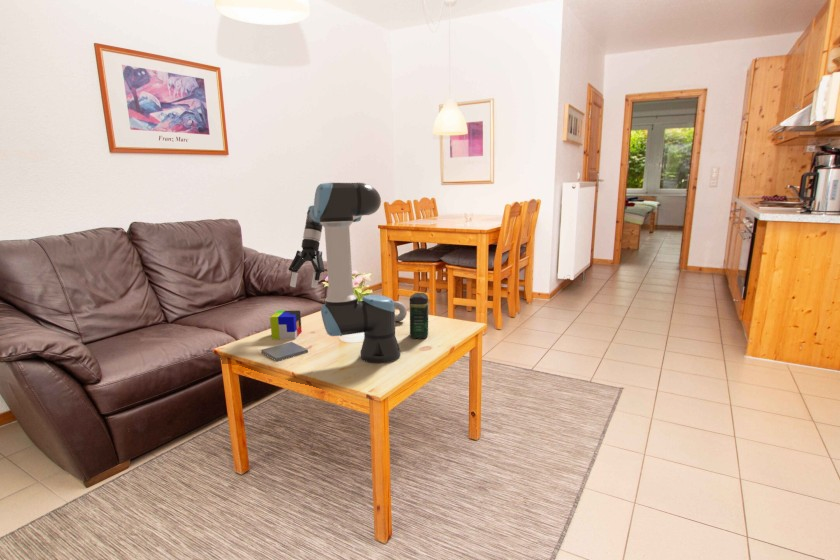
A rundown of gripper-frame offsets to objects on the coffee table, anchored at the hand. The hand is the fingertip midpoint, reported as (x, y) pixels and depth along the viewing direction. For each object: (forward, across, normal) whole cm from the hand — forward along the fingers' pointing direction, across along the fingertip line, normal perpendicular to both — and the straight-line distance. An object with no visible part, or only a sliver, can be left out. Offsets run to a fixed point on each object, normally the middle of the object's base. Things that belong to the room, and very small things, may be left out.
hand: (303, 287), depth 199 cm
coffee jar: (+14, -45, -29) cm, 55 cm away
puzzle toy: (+22, +5, 0) cm, 22 cm away
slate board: (+28, -11, +13) cm, 33 cm away
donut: (+8, -24, -40) cm, 47 cm away
